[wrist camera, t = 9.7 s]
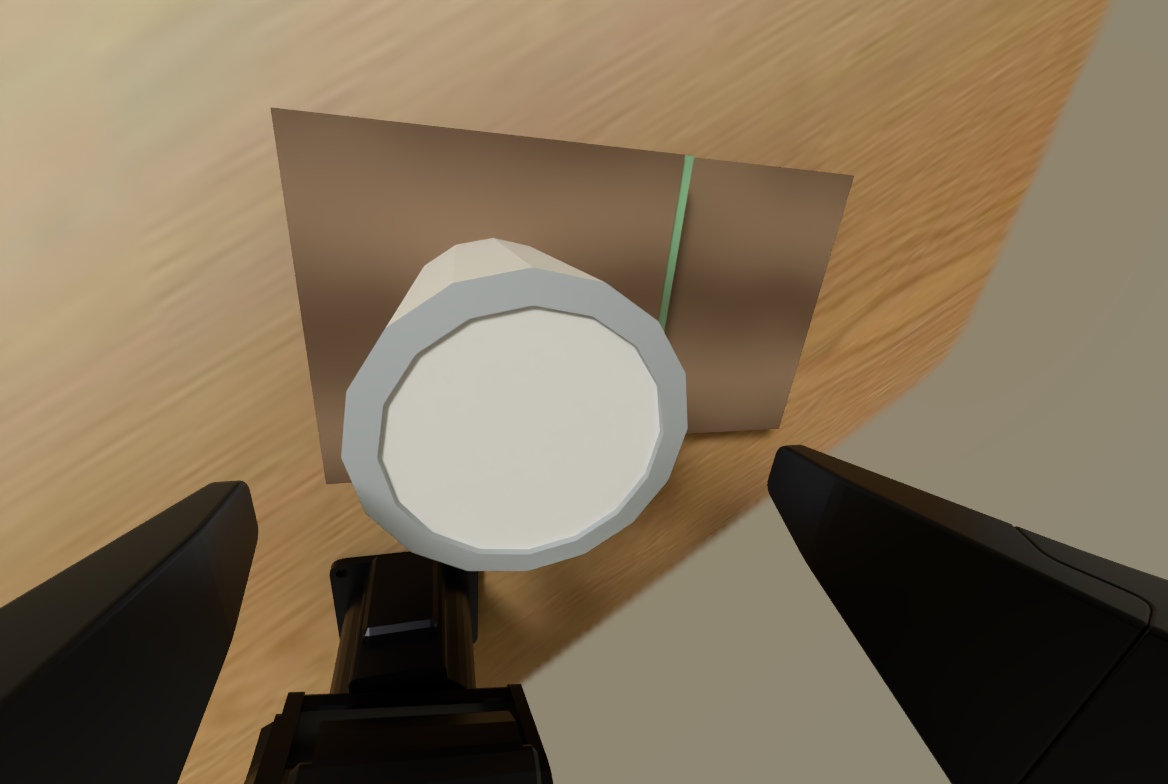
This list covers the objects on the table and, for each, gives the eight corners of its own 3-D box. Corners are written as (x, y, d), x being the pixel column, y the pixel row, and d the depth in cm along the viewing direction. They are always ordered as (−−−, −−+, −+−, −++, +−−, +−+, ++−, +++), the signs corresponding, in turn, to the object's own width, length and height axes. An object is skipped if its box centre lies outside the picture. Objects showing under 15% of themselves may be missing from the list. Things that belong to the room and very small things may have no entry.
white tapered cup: (422, 172, 13) (410, 196, 7) (633, 271, 16) (751, 348, 10) (349, 390, 16) (293, 549, 9) (548, 445, 18) (603, 595, 12)
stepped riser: (762, 408, 25) (813, 451, 22) (345, 425, 20) (326, 484, 17) (827, 173, 21) (905, 179, 17) (307, 115, 16) (270, 107, 12)
